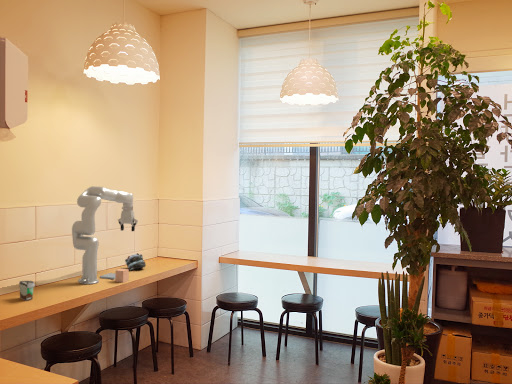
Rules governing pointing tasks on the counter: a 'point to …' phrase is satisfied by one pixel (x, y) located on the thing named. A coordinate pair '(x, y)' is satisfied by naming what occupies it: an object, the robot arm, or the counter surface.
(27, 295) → the food container
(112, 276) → the slate board
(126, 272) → the peach rectangular block
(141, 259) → the lucky cat figurine
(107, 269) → the counter surface
